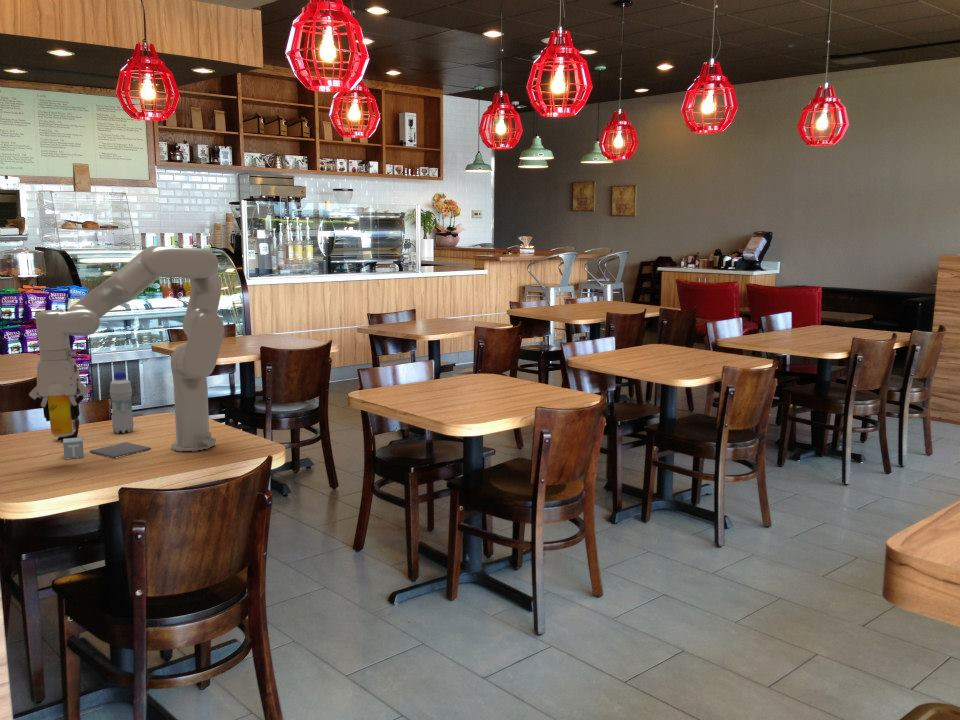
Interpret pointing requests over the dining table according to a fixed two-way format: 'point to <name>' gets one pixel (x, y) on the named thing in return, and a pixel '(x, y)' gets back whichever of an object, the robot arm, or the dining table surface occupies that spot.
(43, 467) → the dining table surface
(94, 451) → the coaster
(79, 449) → the letter block
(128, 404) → the bottle
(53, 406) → the beer can
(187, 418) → the robot arm
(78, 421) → the mate gourd
